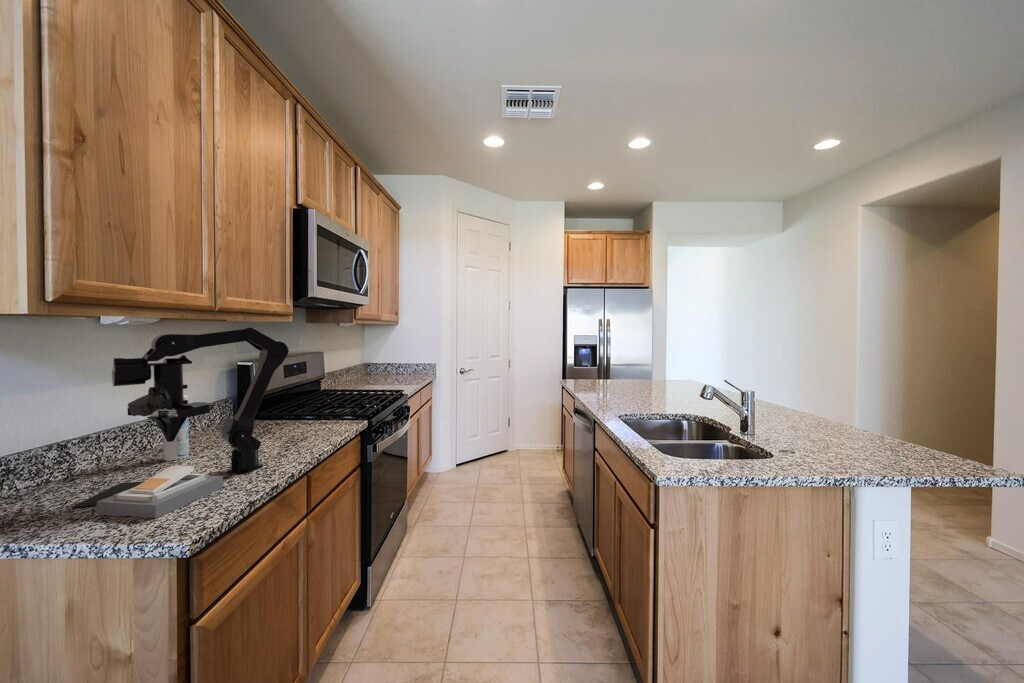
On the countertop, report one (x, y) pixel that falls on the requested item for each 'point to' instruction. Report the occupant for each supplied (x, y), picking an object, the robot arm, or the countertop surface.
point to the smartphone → (106, 494)
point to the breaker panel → (160, 498)
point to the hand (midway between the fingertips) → (170, 441)
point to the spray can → (177, 443)
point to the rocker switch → (162, 480)
